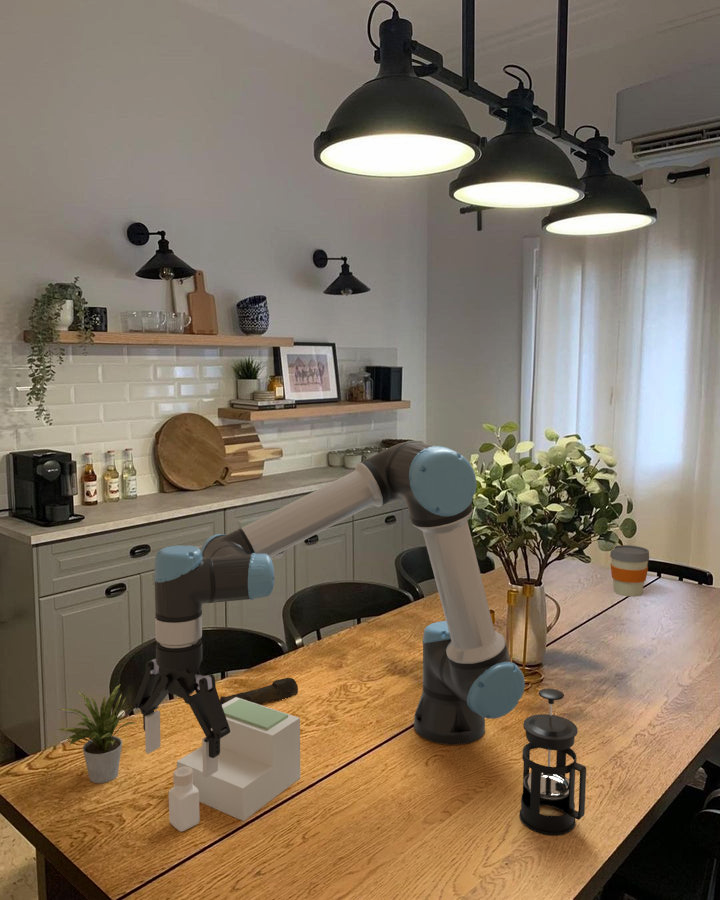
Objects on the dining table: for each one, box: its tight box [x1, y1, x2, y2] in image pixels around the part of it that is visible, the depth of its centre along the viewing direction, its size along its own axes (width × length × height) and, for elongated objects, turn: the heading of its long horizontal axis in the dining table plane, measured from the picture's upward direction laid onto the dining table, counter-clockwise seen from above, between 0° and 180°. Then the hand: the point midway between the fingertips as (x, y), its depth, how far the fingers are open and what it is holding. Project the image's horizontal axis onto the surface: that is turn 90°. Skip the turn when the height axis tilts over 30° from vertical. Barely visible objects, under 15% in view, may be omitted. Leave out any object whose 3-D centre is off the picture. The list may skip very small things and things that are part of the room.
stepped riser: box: [176, 697, 301, 822], centre depth 139 cm, size 16×16×12 cm
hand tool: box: [219, 677, 299, 705], centre depth 172 cm, size 19×4×5 cm, turn 119°
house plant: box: [57, 683, 136, 784], centre depth 143 cm, size 14×14×16 cm
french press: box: [519, 687, 587, 837], centre depth 128 cm, size 12×9×23 cm
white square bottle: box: [168, 767, 201, 832], centre depth 127 cm, size 4×4×10 cm
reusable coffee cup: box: [609, 544, 650, 598], centre depth 255 cm, size 13×13×15 cm
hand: (180, 761), depth 126 cm, fingers open, 13 cm apart
